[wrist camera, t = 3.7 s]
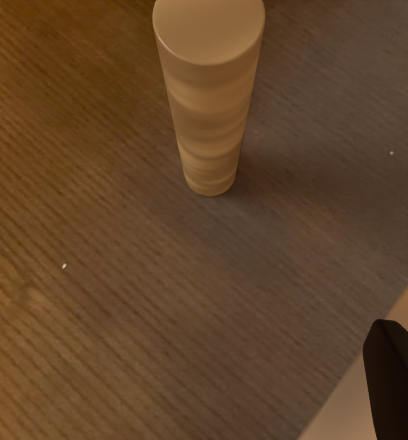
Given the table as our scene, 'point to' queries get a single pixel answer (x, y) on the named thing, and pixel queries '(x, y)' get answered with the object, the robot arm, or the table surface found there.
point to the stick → (209, 81)
